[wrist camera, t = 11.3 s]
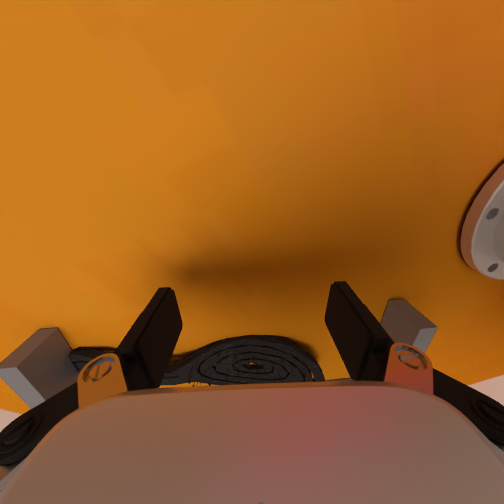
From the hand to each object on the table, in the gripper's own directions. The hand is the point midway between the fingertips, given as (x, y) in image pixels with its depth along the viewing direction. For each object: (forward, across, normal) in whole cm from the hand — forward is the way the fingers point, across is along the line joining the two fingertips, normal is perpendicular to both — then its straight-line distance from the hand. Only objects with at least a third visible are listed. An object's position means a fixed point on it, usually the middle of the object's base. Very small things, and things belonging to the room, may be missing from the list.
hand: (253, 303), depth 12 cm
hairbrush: (+5, +6, +11) cm, 13 cm away
